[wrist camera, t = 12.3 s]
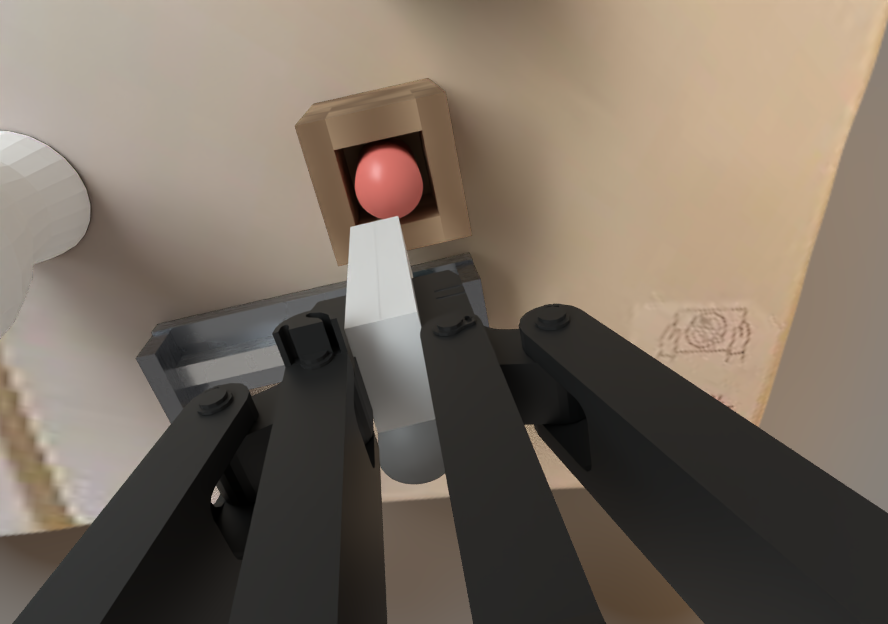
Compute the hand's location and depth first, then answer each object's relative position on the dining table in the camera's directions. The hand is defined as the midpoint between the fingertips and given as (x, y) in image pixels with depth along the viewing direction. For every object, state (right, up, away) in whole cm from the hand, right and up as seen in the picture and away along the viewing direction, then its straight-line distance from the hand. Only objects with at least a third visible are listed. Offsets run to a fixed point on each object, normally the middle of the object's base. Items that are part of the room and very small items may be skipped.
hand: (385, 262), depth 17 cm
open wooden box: (-2, +9, +17) cm, 19 cm away
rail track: (-7, -2, +22) cm, 23 cm away
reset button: (-1, +6, +13) cm, 14 cm away
